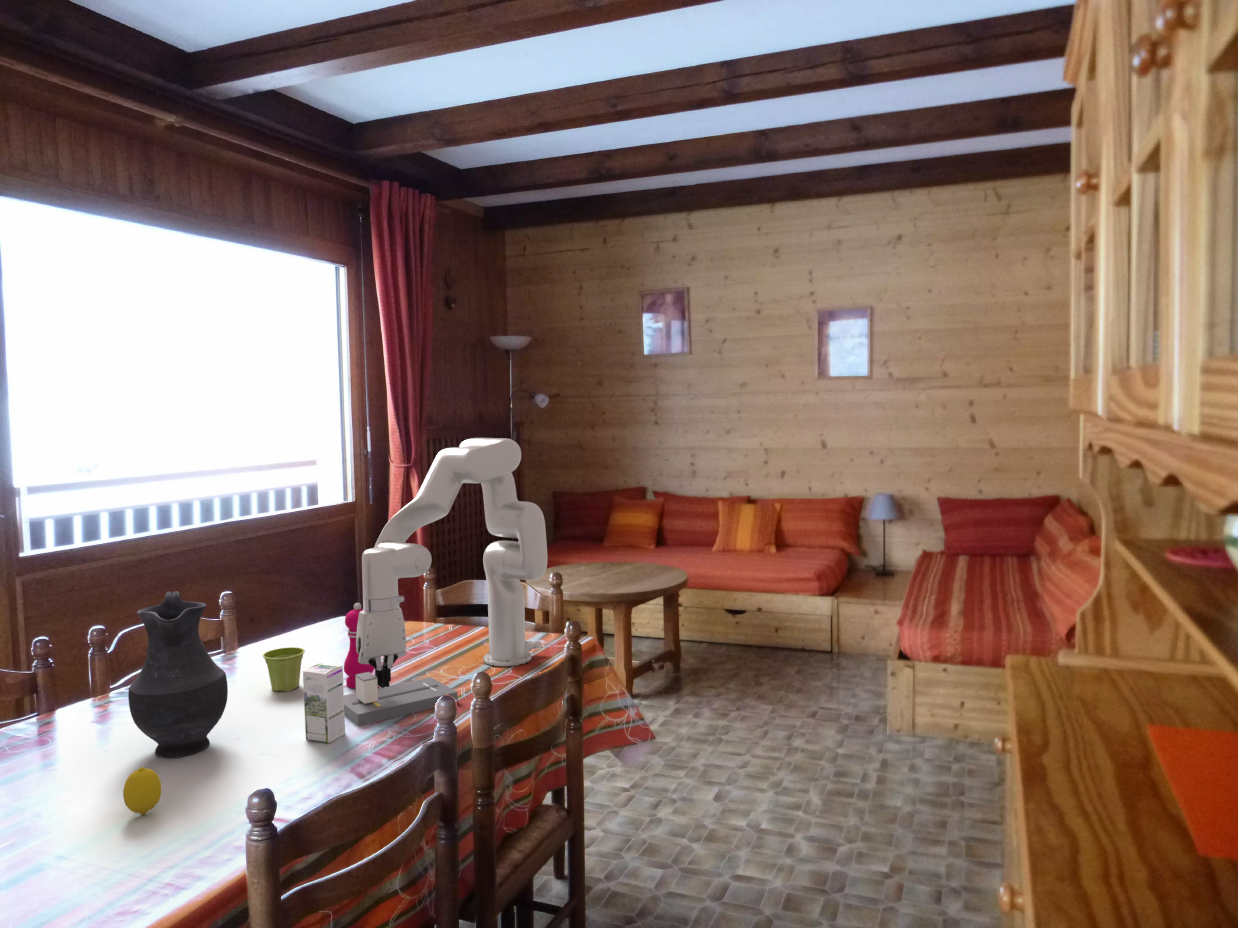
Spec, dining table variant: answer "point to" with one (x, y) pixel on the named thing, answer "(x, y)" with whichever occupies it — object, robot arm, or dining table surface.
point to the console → (396, 701)
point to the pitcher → (177, 680)
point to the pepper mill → (354, 649)
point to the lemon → (142, 790)
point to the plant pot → (284, 667)
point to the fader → (366, 687)
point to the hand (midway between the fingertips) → (383, 685)
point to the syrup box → (324, 703)
